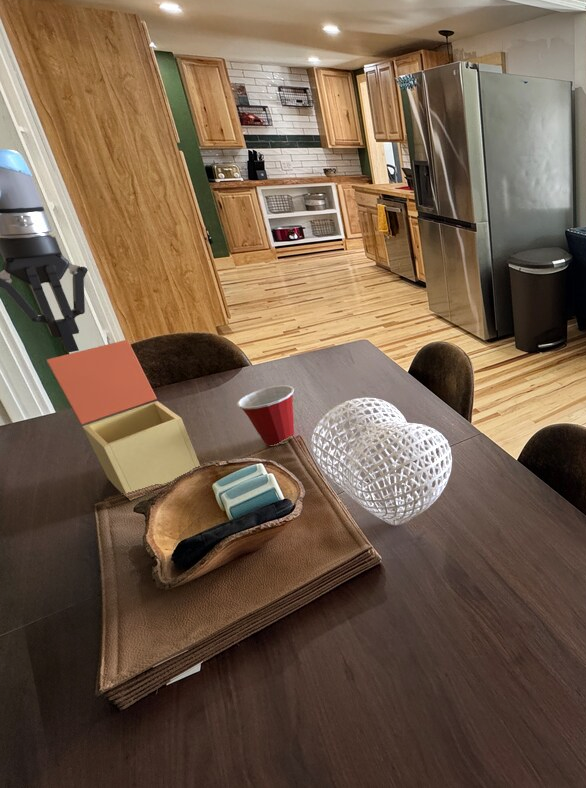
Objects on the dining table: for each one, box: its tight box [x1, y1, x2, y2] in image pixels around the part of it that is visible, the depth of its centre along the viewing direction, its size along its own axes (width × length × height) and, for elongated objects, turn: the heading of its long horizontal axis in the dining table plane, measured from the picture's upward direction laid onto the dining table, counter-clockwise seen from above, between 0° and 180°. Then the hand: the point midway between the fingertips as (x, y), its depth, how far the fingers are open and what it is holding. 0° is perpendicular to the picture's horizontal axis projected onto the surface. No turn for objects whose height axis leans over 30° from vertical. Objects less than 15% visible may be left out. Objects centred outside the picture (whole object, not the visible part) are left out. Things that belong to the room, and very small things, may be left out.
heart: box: [310, 397, 453, 526], centre depth 83 cm, size 28×16×22 cm, turn 53°
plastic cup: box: [236, 384, 295, 447], centre depth 108 cm, size 11×11×12 cm
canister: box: [81, 400, 201, 494], centre depth 96 cm, size 13×12×13 cm
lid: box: [46, 339, 157, 425], centre depth 95 cm, size 14×12×1 cm
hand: (72, 350), depth 98 cm, fingers closed
